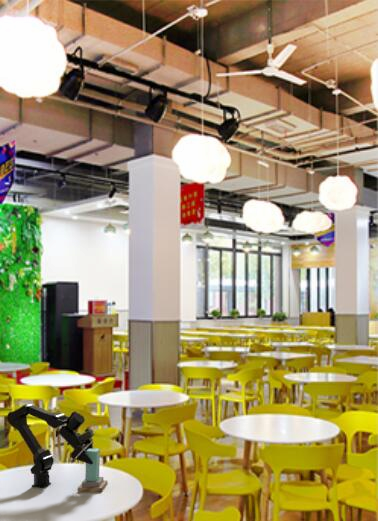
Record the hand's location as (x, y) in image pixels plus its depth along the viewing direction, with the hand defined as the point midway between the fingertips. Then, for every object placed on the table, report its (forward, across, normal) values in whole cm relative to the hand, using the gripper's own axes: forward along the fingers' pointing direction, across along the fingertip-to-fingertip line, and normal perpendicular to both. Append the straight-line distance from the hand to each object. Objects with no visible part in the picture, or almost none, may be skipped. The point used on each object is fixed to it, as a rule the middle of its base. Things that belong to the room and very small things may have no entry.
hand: (95, 461), depth 264 cm
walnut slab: (+8, 0, +10) cm, 13 cm away
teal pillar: (+5, 0, +7) cm, 8 cm away
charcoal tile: (+6, 0, +8) cm, 10 cm away
